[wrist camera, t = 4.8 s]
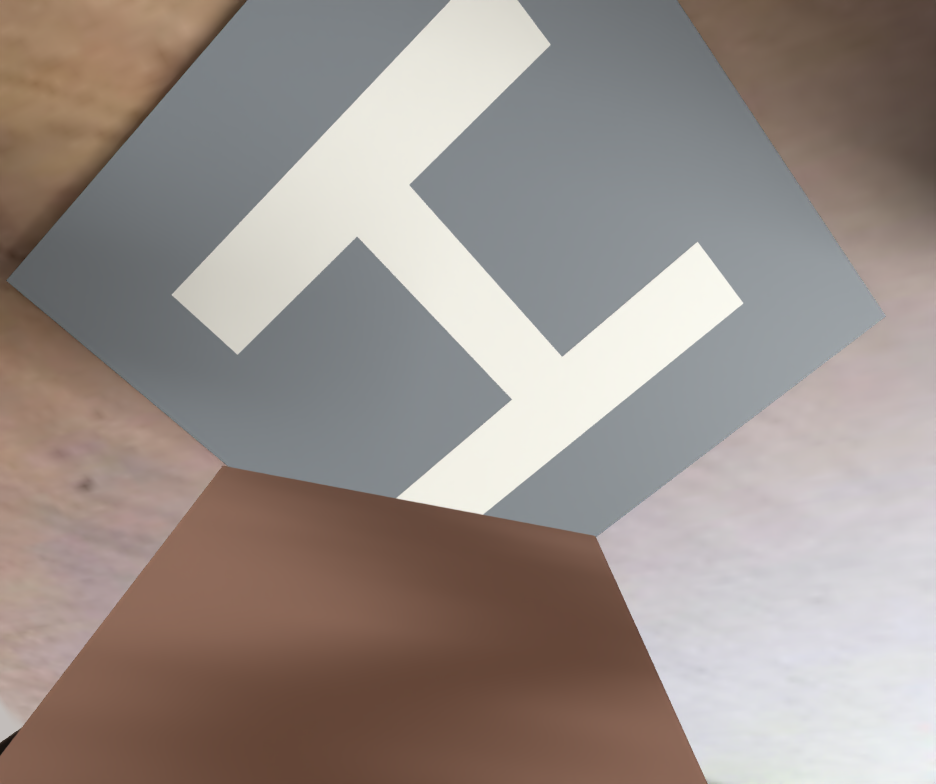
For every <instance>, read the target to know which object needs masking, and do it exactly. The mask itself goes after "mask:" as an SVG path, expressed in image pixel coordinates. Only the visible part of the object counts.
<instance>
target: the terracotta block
mask: <svg viewBox="0 0 936 784" xmlns="http://www.w3.org/2000/svg"><path fill="white" fill-rule="evenodd" d="M0 784H707V782H706V779H705V777H704V775H703V773H702V770H701V768H700V766H699V764H698V762H697V759H696V757H695V755H694V753H693V751H692V748H691V746H690V744H689V742H688V740H687V737H686V735H685V733H684V731H683V729H682V726H681V724H680V722H679V720H678V718H677V715H676V713H675V711H674V709H673V707H672V704H671V702H670V700H669V698H668V695H667V693H666V691H665V689H664V687H663V684H662V682H661V680H660V678H659V676H658V673H657V671H656V669H655V667H654V665H653V662H652V660H651V658H650V656H649V654H648V651H647V649H646V647H645V645H644V643H643V640H642V638H641V636H640V634H639V631H638V629H637V627H636V625H635V623H634V620H633V618H632V616H631V614H630V612H629V609H628V607H627V605H626V603H625V601H624V598H623V596H622V594H621V592H620V590H619V587H618V585H617V583H616V581H615V579H614V576H613V574H612V572H611V570H610V568H609V565H608V563H607V561H606V559H605V556H604V554H603V552H602V550H601V548H600V545H599V543H598V541H597V539H596V537H595V536H593V535H588V534H583V533H578V532H572V531H567V530H562V529H556V528H551V527H546V526H540V525H535V524H530V523H524V522H519V521H514V520H508V519H503V518H498V517H493V516H487V515H482V514H477V513H471V512H466V511H461V510H455V509H450V508H445V507H439V506H434V505H429V504H423V503H418V502H413V501H407V500H402V499H397V498H392V497H386V496H381V495H376V494H370V493H365V492H360V491H354V490H349V489H344V488H338V487H333V486H328V485H322V484H317V483H312V482H307V481H301V480H296V479H291V478H285V477H280V476H275V475H269V474H264V473H259V472H253V471H248V470H243V469H237V468H232V467H227V466H222V468H221V469H220V470H219V472H218V473H217V474H216V476H215V477H214V478H213V479H212V481H211V482H210V483H209V485H208V486H207V487H206V489H205V490H204V491H203V492H202V494H201V495H200V496H199V498H198V499H197V500H196V502H195V503H194V504H193V505H192V507H191V508H190V509H189V511H188V512H187V513H186V515H185V516H184V517H183V519H182V520H181V521H180V522H179V524H178V525H177V526H176V528H175V529H174V530H173V532H172V533H171V534H170V535H169V537H168V538H167V539H166V541H165V542H164V543H163V545H162V546H161V547H160V548H159V550H158V551H157V552H156V554H155V555H154V556H153V558H152V559H151V560H150V561H149V563H148V564H147V565H146V567H145V568H144V569H143V571H142V572H141V573H140V574H139V576H138V577H137V578H136V580H135V581H134V582H133V584H132V585H131V586H130V588H129V589H128V590H127V591H126V593H125V594H124V595H123V597H122V598H121V599H120V601H119V602H118V603H117V604H116V606H115V607H114V608H113V610H112V611H111V612H110V614H109V615H108V616H107V617H106V619H105V620H104V621H103V623H102V624H101V625H100V627H99V628H98V629H97V630H96V632H95V633H94V634H93V636H92V637H91V638H90V640H89V641H88V642H87V643H86V645H85V646H84V647H83V649H82V650H81V651H80V653H79V654H78V655H77V657H76V658H75V659H74V660H73V662H72V663H71V664H70V666H69V667H68V668H67V670H66V671H65V672H64V673H63V675H62V676H61V677H60V679H59V680H58V681H57V683H56V684H55V685H54V686H53V688H52V689H51V690H50V692H49V693H48V694H47V696H46V697H45V698H44V699H43V701H42V702H41V703H40V705H39V706H38V707H37V709H36V710H35V711H34V712H33V714H32V715H31V716H30V718H29V719H28V720H27V722H26V723H25V724H24V726H23V727H22V728H21V729H20V731H19V732H18V733H17V735H16V736H15V737H14V739H13V740H12V741H11V742H10V744H9V745H8V746H7V748H6V749H5V750H4V752H3V753H2V754H1V755H0Z"/></svg>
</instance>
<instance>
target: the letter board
mask: <svg viewBox="0 0 936 784" xmlns="http://www.w3.org/2000/svg"><path fill="white" fill-rule="evenodd" d="M6 281H7V282H9V283H10V284H11V285H12V286H13V287H15V288H16V289H17V290H18V291H19V292H20V293H22V294H23V295H24V296H25V297H26V298H28V299H29V300H30V301H31V302H32V303H34V304H35V305H36V306H37V307H38V308H40V309H41V310H42V311H43V312H44V313H46V314H47V315H48V316H49V317H50V318H52V319H53V320H54V321H55V322H56V323H58V324H59V325H60V326H61V327H62V328H64V329H65V330H66V331H67V332H68V333H69V334H71V335H72V336H73V337H74V338H75V339H77V340H78V341H79V342H80V343H81V344H83V345H84V346H85V347H86V348H87V349H89V350H90V351H91V352H92V353H93V354H95V355H96V356H97V357H98V358H99V359H101V360H102V361H103V362H104V363H105V364H107V365H108V366H109V367H110V368H111V369H113V370H114V371H115V372H116V373H117V374H118V375H120V376H121V377H122V378H123V379H124V380H126V381H127V382H128V383H129V384H130V385H132V386H133V387H134V388H135V389H136V390H138V391H139V392H140V393H141V394H142V395H144V396H145V397H146V398H147V399H148V400H150V401H151V402H152V403H153V404H154V405H156V406H157V407H158V408H159V409H160V410H162V411H163V412H164V413H165V414H166V415H168V416H169V417H170V418H171V419H172V420H173V421H175V422H176V423H177V424H178V425H179V426H181V427H182V428H183V429H184V430H185V431H187V432H188V433H189V434H190V435H191V436H193V437H194V438H195V439H196V440H197V441H199V442H200V443H201V444H202V445H203V446H205V447H206V448H207V449H208V450H209V451H211V452H212V453H213V454H214V455H215V456H217V457H218V458H219V459H220V460H221V461H222V462H224V463H225V464H226V465H227V466H228V467H232V468H237V469H243V470H248V471H253V472H259V473H264V474H269V475H275V476H280V477H285V478H291V479H296V480H301V481H307V482H312V483H317V484H322V485H328V486H333V487H338V488H344V489H349V490H354V491H360V492H365V493H370V494H376V495H381V496H386V497H392V498H397V499H402V500H407V501H413V502H418V503H423V504H429V505H434V506H439V507H445V508H450V509H455V510H461V511H466V512H471V513H477V514H482V515H487V516H493V517H498V518H503V519H508V520H514V521H519V522H524V523H530V524H535V525H540V526H546V527H551V528H556V529H562V530H567V531H572V532H578V533H583V534H588V535H593V536H595V537H597V536H598V535H599V534H601V533H602V532H603V531H605V530H606V529H607V528H609V527H610V526H611V525H612V524H614V523H615V522H616V521H618V520H619V519H620V518H622V517H623V516H624V515H626V514H627V513H628V512H630V511H631V510H632V509H633V508H635V507H636V506H637V505H639V504H640V503H641V502H643V501H644V500H645V499H647V498H648V497H649V496H651V495H652V494H653V493H654V492H656V491H657V490H658V489H660V488H661V487H662V486H664V485H665V484H666V483H668V482H669V481H670V480H672V479H673V478H674V477H675V476H677V475H678V474H679V473H681V472H682V471H683V470H685V469H686V468H687V467H689V466H690V465H691V464H693V463H694V462H695V461H696V460H698V459H699V458H700V457H702V456H703V455H704V454H706V453H707V452H708V451H710V450H711V449H712V448H714V447H715V446H716V445H717V444H719V443H720V442H721V441H723V440H724V439H725V438H727V437H728V436H729V435H731V434H732V433H733V432H735V431H736V430H737V429H738V428H740V427H741V426H742V425H744V424H745V423H746V422H748V421H749V420H750V419H752V418H753V417H754V416H756V415H757V414H758V413H759V412H761V411H762V410H763V409H765V408H766V407H767V406H769V405H770V404H771V403H773V402H774V401H775V400H776V399H778V398H779V397H780V396H782V395H783V394H784V393H786V392H787V391H788V390H790V389H791V388H792V387H794V386H795V385H796V384H797V383H799V382H800V381H801V380H803V379H804V378H805V377H807V376H808V375H809V374H811V373H812V372H813V371H815V370H816V369H817V368H818V367H820V366H821V365H822V364H824V363H825V362H826V361H828V360H829V359H830V358H832V357H833V356H834V355H836V354H837V353H838V352H839V351H841V350H842V349H843V348H845V347H846V346H847V345H849V344H850V343H851V342H853V341H854V340H855V339H857V338H858V337H859V336H860V335H862V334H863V333H864V332H866V331H867V330H868V329H870V328H871V327H872V326H874V325H875V324H876V323H878V322H879V321H880V320H881V319H883V318H884V317H885V314H884V313H883V311H882V310H881V308H880V307H879V305H878V304H877V302H876V301H875V299H874V298H873V296H872V295H871V293H870V291H869V290H868V288H867V287H866V285H865V284H864V282H863V281H862V279H861V278H860V276H859V275H858V273H857V272H856V270H855V269H854V267H853V266H852V264H851V263H850V261H849V260H848V258H847V257H846V255H845V254H844V252H843V251H842V249H841V248H840V246H839V245H838V243H837V242H836V240H835V238H834V237H833V235H832V234H831V232H830V231H829V229H828V228H827V226H826V225H825V223H824V222H823V220H822V219H821V217H820V216H819V214H818V213H817V211H816V210H815V208H814V207H813V205H812V204H811V202H810V201H809V199H808V198H807V196H806V195H805V193H804V192H803V190H802V189H801V187H800V186H799V184H798V182H797V181H796V179H795V178H794V176H793V175H792V173H791V172H790V170H789V169H788V167H787V166H786V164H785V163H784V161H783V160H782V158H781V157H780V155H779V154H778V152H777V151H776V149H775V148H774V146H773V145H772V143H771V142H770V140H769V139H768V137H767V136H766V134H765V133H764V131H763V129H762V128H761V126H760V125H759V123H758V122H757V120H756V119H755V117H754V116H753V114H752V113H751V111H750V110H749V108H748V107H747V105H746V104H745V102H744V101H743V99H742V98H741V96H740V95H739V93H738V92H737V90H736V89H735V87H734V86H733V84H732V83H731V81H730V80H729V78H728V77H727V75H726V73H725V72H724V70H723V69H722V67H721V66H720V64H719V63H718V61H717V60H716V58H715V57H714V55H713V54H712V52H711V51H710V49H709V48H708V46H707V45H706V43H705V42H704V40H703V39H702V37H701V36H700V34H699V33H698V31H697V30H696V28H695V27H694V25H693V24H692V22H691V20H690V19H689V17H688V16H687V14H686V13H685V11H684V10H683V8H682V7H681V5H680V4H679V2H678V1H677V0H247V1H246V3H245V4H244V5H243V6H242V7H241V8H240V10H239V11H238V12H237V13H236V14H235V15H234V16H233V18H232V19H231V20H230V21H229V22H228V23H227V25H226V26H225V27H224V28H223V29H222V30H221V32H220V33H219V34H218V35H217V36H216V37H215V39H214V40H213V41H212V42H211V43H210V44H209V46H208V47H207V48H206V49H205V50H204V51H203V53H202V54H201V55H200V56H199V57H198V58H197V59H196V61H195V62H194V63H193V64H192V65H191V66H190V68H189V69H188V70H187V71H186V72H185V73H184V75H183V76H182V77H181V78H180V79H179V80H178V82H177V83H176V84H175V85H174V86H173V87H172V89H171V90H170V91H169V92H168V93H167V94H166V96H165V97H164V98H163V99H162V100H161V101H160V102H159V104H158V105H157V106H156V107H155V108H154V109H153V111H152V112H151V113H150V114H149V115H148V116H147V118H146V119H145V120H144V121H143V122H142V123H141V125H140V126H139V127H138V128H137V129H136V130H135V132H134V133H133V134H132V135H131V136H130V137H129V139H128V140H127V141H126V142H125V143H124V144H123V145H122V147H121V148H120V149H119V150H118V151H117V152H116V154H115V155H114V156H113V157H112V158H111V159H110V161H109V162H108V163H107V164H106V165H105V166H104V168H103V169H102V170H101V171H100V172H99V173H98V175H97V176H96V177H95V178H94V179H93V180H92V182H91V183H90V184H89V185H88V186H87V187H86V188H85V190H84V191H83V192H82V193H81V194H80V195H79V197H78V198H77V199H76V200H75V201H74V202H73V204H72V205H71V206H70V207H69V208H68V209H67V211H66V212H65V213H64V214H63V215H62V216H61V218H60V219H59V220H58V221H57V222H56V223H55V225H54V226H53V227H52V228H51V229H50V230H49V231H48V233H47V234H46V235H45V236H44V237H43V238H42V240H41V241H40V242H39V243H38V244H37V245H36V247H35V248H34V249H33V250H32V251H31V252H30V254H29V255H28V256H27V257H26V258H25V259H24V261H23V262H22V263H21V264H20V265H19V266H18V268H17V269H16V270H15V271H14V272H13V273H12V274H11V276H10V277H9V278H8V279H7V280H6Z"/></svg>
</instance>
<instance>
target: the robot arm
mask: <svg viewBox="0 0 936 784" xmlns="http://www.w3.org/2000/svg"><path fill="white" fill-rule="evenodd" d="M20 729H21V728H20ZM20 729H19V730H18V731H16V732H15V733H13V734H12V735H11V736H9V737H8V738H6V739H5V740H3V741H2V742H1V743H0V755H1V754H2V753H3V752H4V750H5V749H6V748H7V746H8V745H9V744H10V742H11V741H12V740H13V739H14V737H15V736H16V735H17V733H18V732H19V731H20Z"/></svg>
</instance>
